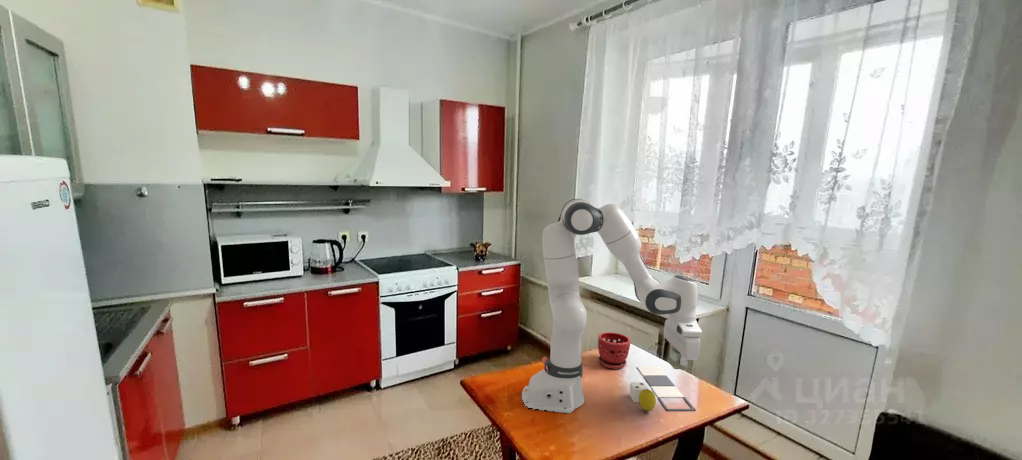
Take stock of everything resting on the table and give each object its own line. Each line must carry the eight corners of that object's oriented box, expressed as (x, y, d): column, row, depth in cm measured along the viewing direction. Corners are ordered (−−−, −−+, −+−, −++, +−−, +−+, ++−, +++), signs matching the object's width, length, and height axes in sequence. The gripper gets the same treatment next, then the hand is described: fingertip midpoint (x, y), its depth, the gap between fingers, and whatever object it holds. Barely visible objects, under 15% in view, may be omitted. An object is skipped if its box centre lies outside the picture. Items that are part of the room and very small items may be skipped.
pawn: (674, 369, 140) (676, 344, 139) (669, 363, 145) (671, 339, 143) (687, 369, 140) (689, 345, 139) (681, 363, 145) (683, 339, 143)
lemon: (656, 416, 136) (657, 394, 135) (638, 414, 137) (640, 392, 136) (653, 407, 142) (655, 386, 141) (637, 405, 143) (638, 384, 142)
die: (633, 402, 145) (634, 388, 144) (629, 394, 150) (630, 381, 149) (647, 402, 145) (648, 388, 144) (643, 394, 150) (644, 381, 149)
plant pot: (621, 374, 165) (622, 346, 163) (591, 364, 173) (592, 337, 172) (633, 363, 175) (635, 336, 174) (605, 354, 183) (606, 329, 182)
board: (666, 411, 140) (666, 409, 140) (636, 367, 171) (636, 366, 171) (695, 410, 140) (695, 409, 140) (659, 367, 171) (659, 366, 171)
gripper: (660, 312, 150) (658, 347, 152) (685, 333, 130) (682, 374, 132) (677, 312, 151) (674, 347, 153) (704, 333, 130) (701, 374, 132)
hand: (678, 360), depth 142 cm, fingers closed on pawn, 4 cm apart
